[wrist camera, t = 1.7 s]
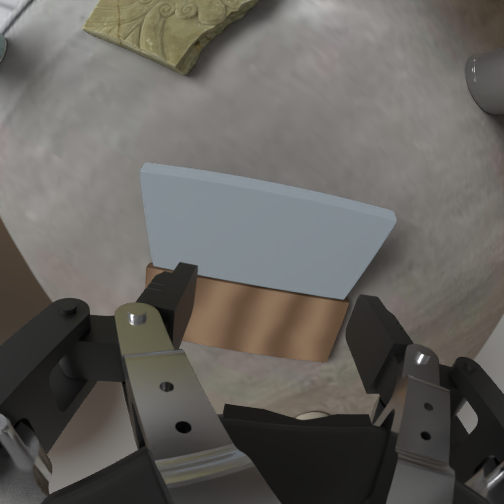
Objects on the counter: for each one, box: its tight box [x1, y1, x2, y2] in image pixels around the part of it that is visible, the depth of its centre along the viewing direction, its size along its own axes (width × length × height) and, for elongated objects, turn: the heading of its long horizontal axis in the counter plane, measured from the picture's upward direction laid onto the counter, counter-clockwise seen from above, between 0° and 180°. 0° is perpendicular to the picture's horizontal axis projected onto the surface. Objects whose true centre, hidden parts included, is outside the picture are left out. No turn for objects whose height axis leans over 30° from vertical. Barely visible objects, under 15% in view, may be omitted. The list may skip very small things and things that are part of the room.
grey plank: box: [140, 163, 397, 300], centre depth 31 cm, size 24×14×2 cm, turn 80°
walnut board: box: [145, 263, 349, 362], centre depth 39 cm, size 26×11×2 cm, turn 80°
